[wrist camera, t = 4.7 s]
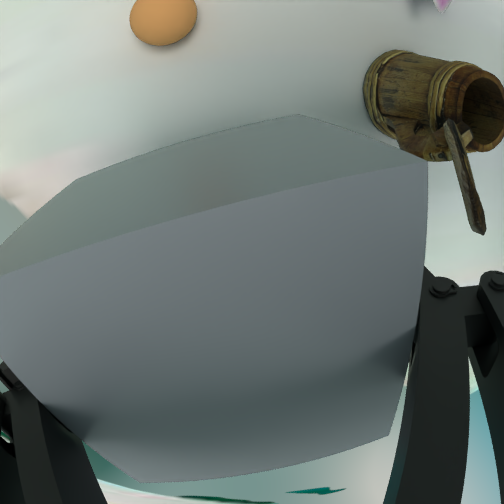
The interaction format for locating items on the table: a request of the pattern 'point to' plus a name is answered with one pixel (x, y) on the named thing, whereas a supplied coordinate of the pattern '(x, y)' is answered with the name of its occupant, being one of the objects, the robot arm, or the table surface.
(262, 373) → the matte grey cube
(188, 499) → the table surface
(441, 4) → the lily
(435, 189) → the table surface
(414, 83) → the wooden mug
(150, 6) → the ball
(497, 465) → the robot arm
